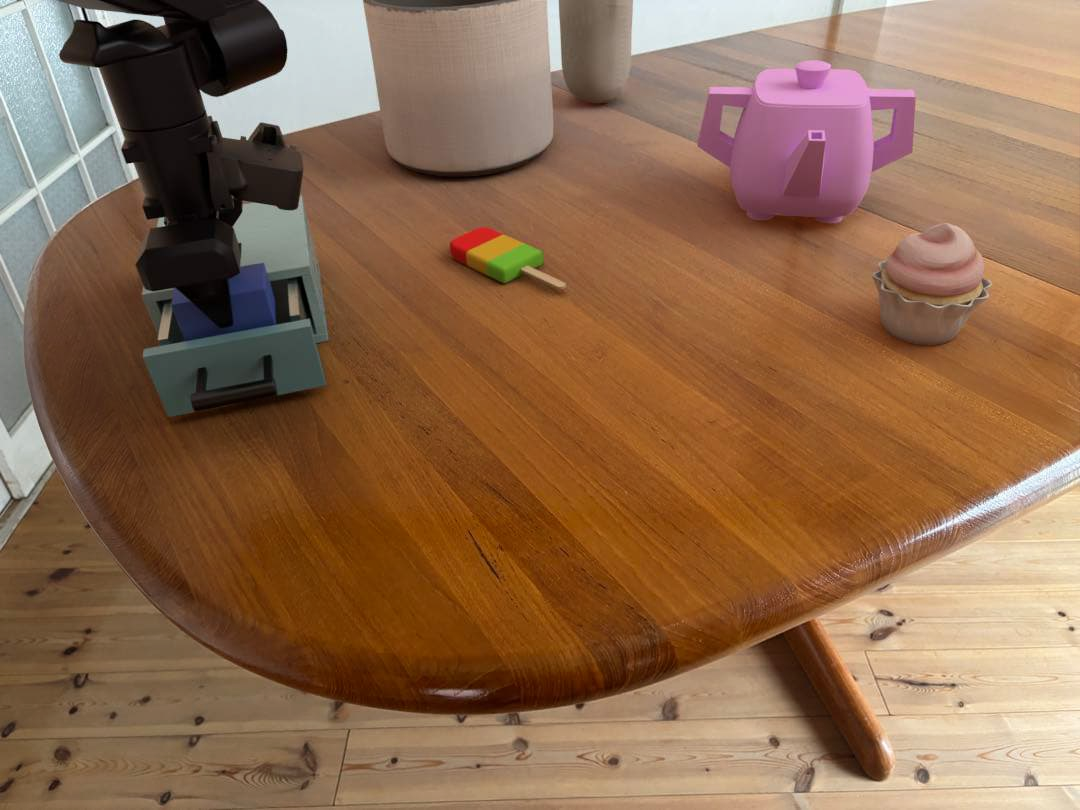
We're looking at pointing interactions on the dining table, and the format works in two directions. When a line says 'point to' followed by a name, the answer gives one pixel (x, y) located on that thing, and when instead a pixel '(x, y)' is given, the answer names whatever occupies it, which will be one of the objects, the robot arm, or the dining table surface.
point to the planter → (462, 82)
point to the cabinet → (270, 257)
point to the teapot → (806, 139)
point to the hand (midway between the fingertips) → (227, 310)
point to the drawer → (237, 358)
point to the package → (248, 306)
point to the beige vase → (596, 47)
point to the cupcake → (931, 285)
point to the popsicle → (500, 256)
